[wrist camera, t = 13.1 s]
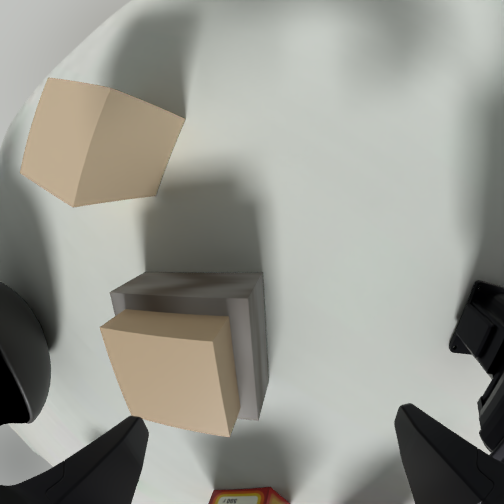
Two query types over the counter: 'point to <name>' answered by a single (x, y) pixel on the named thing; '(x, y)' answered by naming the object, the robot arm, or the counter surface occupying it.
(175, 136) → the box
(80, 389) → the counter surface
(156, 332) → the box lid
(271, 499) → the baking soda box
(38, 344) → the coal bowl
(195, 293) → the block
